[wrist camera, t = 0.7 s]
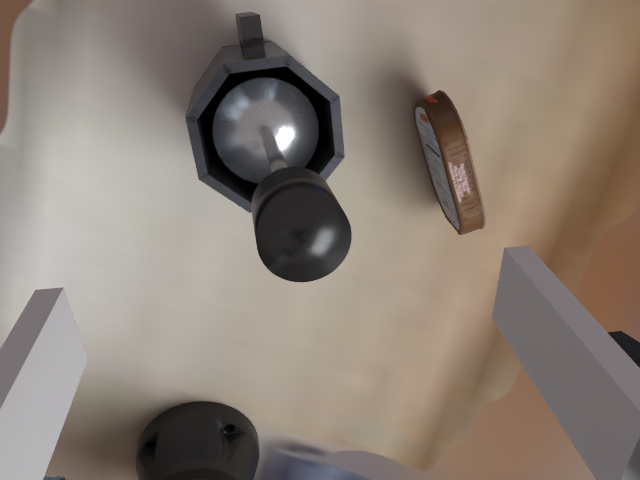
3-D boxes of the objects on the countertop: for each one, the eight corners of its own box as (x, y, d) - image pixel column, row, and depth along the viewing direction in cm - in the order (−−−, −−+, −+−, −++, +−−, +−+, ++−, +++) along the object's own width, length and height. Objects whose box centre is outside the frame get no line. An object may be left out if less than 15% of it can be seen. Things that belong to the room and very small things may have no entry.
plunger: (321, 172, 42) (400, 303, 24) (223, 187, 41) (226, 336, 23) (311, 70, 39) (392, 132, 20) (203, 84, 38) (188, 162, 19)
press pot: (317, 150, 53) (348, 196, 41) (210, 166, 52) (207, 219, 40) (302, 5, 47) (331, 6, 35) (180, 19, 46) (165, 26, 34)
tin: (462, 209, 59) (497, 239, 52) (437, 220, 59) (468, 252, 52) (429, 83, 53) (464, 96, 45) (400, 94, 52) (431, 110, 45)
